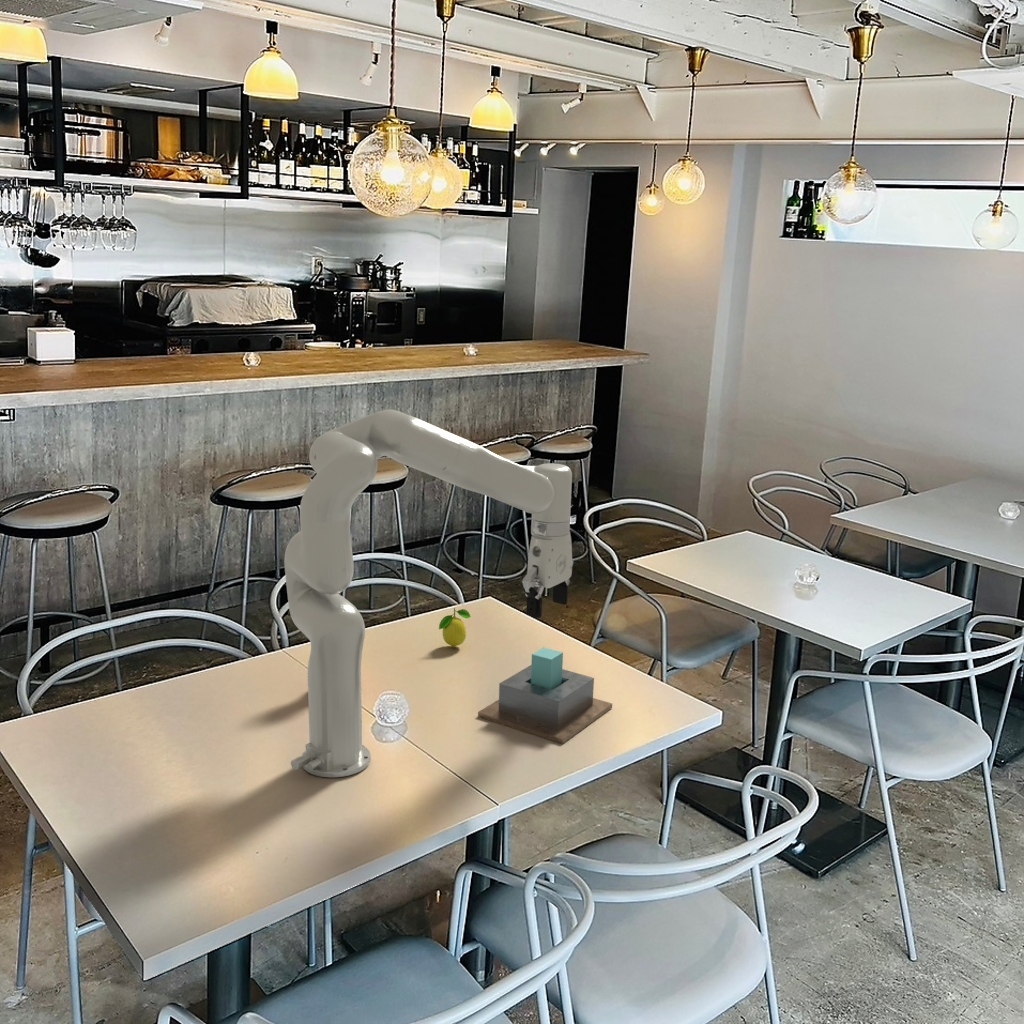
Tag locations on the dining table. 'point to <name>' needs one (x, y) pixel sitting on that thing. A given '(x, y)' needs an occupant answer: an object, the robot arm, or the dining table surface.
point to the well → (546, 706)
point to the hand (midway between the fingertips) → (547, 609)
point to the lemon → (454, 628)
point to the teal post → (547, 668)
